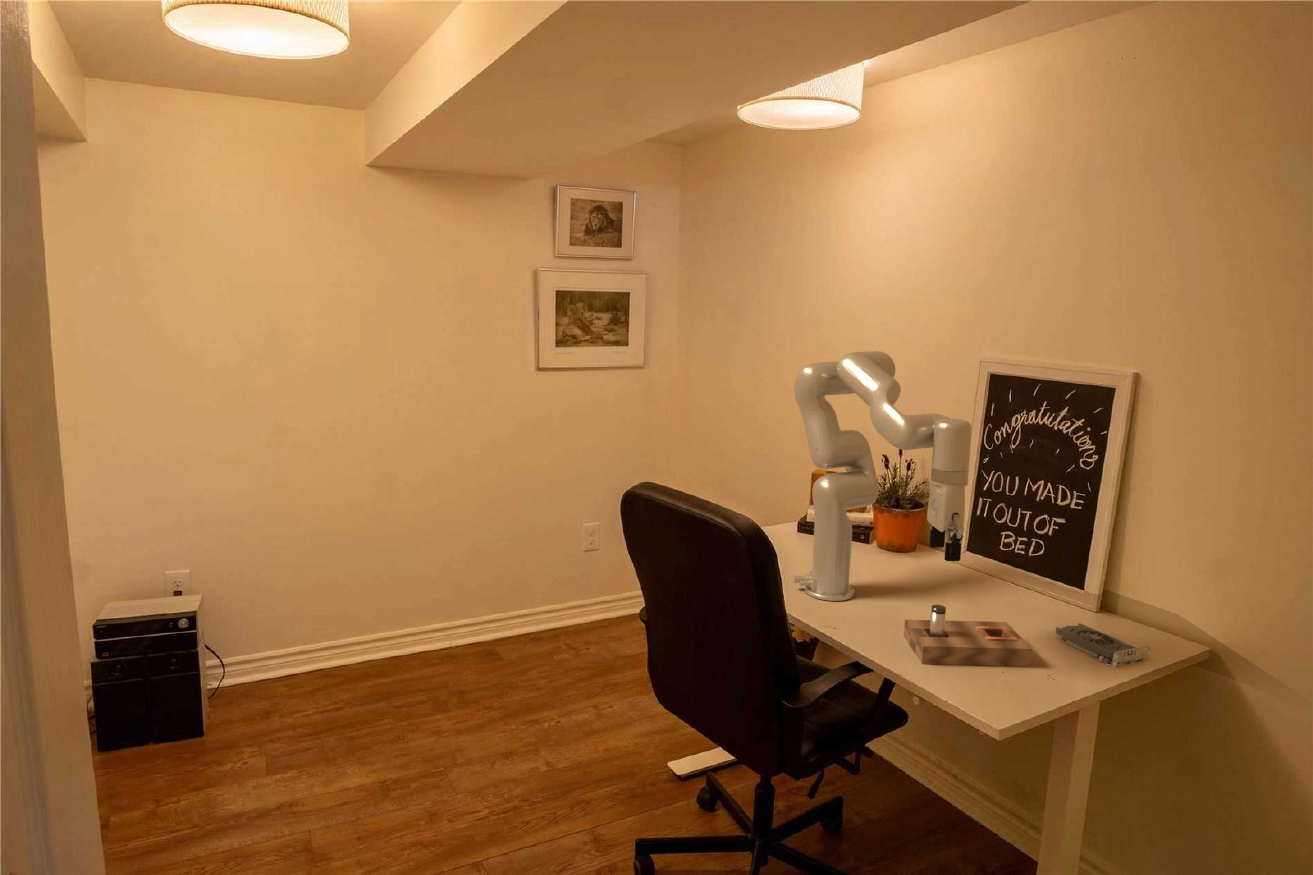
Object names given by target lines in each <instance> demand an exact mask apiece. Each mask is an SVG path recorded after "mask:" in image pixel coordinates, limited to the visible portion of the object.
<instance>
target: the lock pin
mask: <svg viewBox="0 0 1313 875" xmlns="http://www.w3.org/2000/svg"><path fill="white" fill-rule="evenodd" d="M930 608H931V610H930V611H931V612H930V619H929V620H930V631H929V637H944V626H945V621H946V615H947V614H946V612H947V607H946V606H944V605H941V604H933V605H931V607H930Z"/></svg>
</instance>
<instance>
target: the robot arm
mask: <svg viewBox="0 0 1313 875" xmlns="http://www.w3.org/2000/svg"><path fill="white" fill-rule="evenodd" d="M895 375H896V364H895V362H894V360H893V358H892V357H891V356H890V355H889V354H888V353H886V352H883V351H875V350H874V351H854V352H850V353H847V354H846V355H844V356H842V357H841V358H840V360H839V361H821V362H820V361H819V362H812V363H810V364H806V365H805V366H803V367H801V369H799V371H798V372H797V374H796V376H795V380H794V387H793V388H794V397H795V401H796V404H797V406H798V409H799V411H800V414H801V416H802V420H803V425H804V430H805V435H806V440H807V444H808V449H809V453H810V458H811V461H812V463H813V465H814V466H815V467H816V468H818V469H821V470H822V469H823V470H831V469H839V468H845V470H846V471H843V472H835V473H828V474H825V475H822V476H820V477H819V478H817V480H816V481H815V482H814V483H813V486H812V488H811V489H812V491H811V492H812V495H811V496H812V501H813V509H814V510H813V511H814V527H813V546H812V547H813V548H812V563H811V564H812V565H811V571H809V572H808V574H805V576H803V575H793V577H792V578H793V579H792V581H793V582H792V583H793V584H799V586H801V587H803V586H804V592H805V593H806V594H807V595H809V596H810V597H813V598H815V599H818V600H823V601H829V602H831V601H832V602H840V601H842V602H843V601H848V600H850V599H852V598H853V597H854V596H855V592H856V591H855V589H854V587H853V586H851V585H850V574H851V573H850V571H851V570H850V569H851V559H852V557H851V556H852V542H853V541H852V539H853V526H852V522H851V520H850V518H849V516H848V514H847V511H850V510H854V509H860V508H861V509H862V508H867V507H869V506H872V505H873V504H874V503H875V502H876V501H877V499H878V496H879V484H878V483H879V482H878V478H877V472H876V468H875V464H874V460H873V455H872V451H871V450H872V449H871V446H870V444H869V441H868V440H867V438H866V436H865V435H864V434H863V433H861V432H859V430H854V429H845V430H841V429H840V425H839V421H838V416H837V413H836V410H835V409H834V408H833V406H832V405H831V403H830V402H829V401H828V400H827V399H826V398H825V397H826V396H837V395H838V396H839V395H852V394H855V395H856V396H858V398H860V400H862V401H863V402H864V403H865V404H866V405H867V406H868V407H869V414H870V419H871V423H872V425H873V427H874V429H875V431H877V433H878V434H879V435H880V436H881V437H883V439H884V440H885V441H887V442H888V443H889V444H890V445H892V446H893V447H895V448H897V449H899V450H903V451H910V450H911V451H912V450H918V449H930V448H931V449H932V455H931V456H932V457H931V458H932V459H931V471H930V472H931V473H930V483H931V485H930V490H929V491H930V492H929V495H928V496H929V497H928V507H927V516H926V521H927V522H928V523H929V528H930V530H929V544H928V545H929V547H930V548H944V559H943V560H945V561H946V562H959V561H961V556H962V554H961V553H962V544H963V539H964V532H965V526H964V525H965V514H966V512H965V510H966V494H965V492H966V491H965V490H966V489H965V488H966V487H967V486H968V484H969V483H968V482H969V471H970V460H971V459H970V457H971V445H972V443H971V442H972V429H973V427H972V424H971V423H970V422H969V421H967V420H965V419H961V418H952V417H951V418H950V417H948V416H945V415H944V414H943V415H942V414H940V413H922V414H919V413H918V414H909V415H908V414H907V415H906V414H905V415H904V414H903V413H902V412H901V411H899V409H897V408H896V407H895V406H894V405H895V404H896V403H897V401H898V399H899V398H900V395H901V392H902V391H901V389H902V388H901V387H902V386H901V384H900V383H899V382H898V380H897V379H895ZM946 540H947V541H946Z"/></svg>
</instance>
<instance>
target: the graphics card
mask: <svg viewBox="0 0 1313 875" xmlns="http://www.w3.org/2000/svg"><path fill="white" fill-rule="evenodd" d="M1055 634H1056V635H1058V636H1060V637H1062V639H1063V640H1065V643H1068V644H1069V645H1071V646H1073V647H1075V648H1077V649H1079V650H1081V651H1083V652H1085V653H1088V654H1089V655H1088V657H1089V658H1092V659H1094V660H1096V659H1099V660H1098V662H1100V663H1102V664H1104V665H1106V664H1111V665H1112V666H1110V665H1107V666H1108V667H1112V668H1114V669H1117V666H1120V665H1125V666H1127V665H1128V664H1129V665H1131V663H1132V662H1133V663H1140V662H1143V661H1144V660H1146V659H1150V656H1151V654H1150V653H1149V652H1151V650H1152V648H1151V647H1152V646H1149V645H1144V646H1143V645H1142V646H1137V647H1136V646H1133V645H1131V644H1130V643H1126V642H1124V641H1122V640H1119V639H1117V638H1115V637H1113V636H1110V635H1108V634H1106V633H1105V632H1104V633H1103V632H1101V631H1099V630H1097V629H1094V628H1092V627H1090V626H1087V625H1085V624H1083V623H1077V625H1066V626H1063V627H1061V628H1060V627H1057V626H1056V627H1055ZM1091 655H1092V656H1091ZM1096 661H1097V660H1096ZM1119 664H1120V665H1119ZM1129 665H1128V666H1129Z"/></svg>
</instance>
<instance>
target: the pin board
mask: <svg viewBox="0 0 1313 875" xmlns="http://www.w3.org/2000/svg"><path fill="white" fill-rule="evenodd" d="M903 627H904V628H903V637H904V639H905V640H906V642H907V643H908V645H909V647H910V648H911V650H912V651H913V653H914V654H915V655H916V658H917V659H918V660H919V661H920V663H921V665H949V666H951V665H952V666H953V665H956V666H960V665H961V666H989V667H992V666H993V667H995V666H996V667H998V666H1002V667H1029V668H1031V666H1032V659H1033V658H1032V657H1033V648H1032V647H1031V646H1030V645H1029V643H1027V642H1026V640H1024V638H1022V636H1020V634H1019V633H1018V632H1017V631H1016V630H1015V629H1013V627H1012V626H1011V625H1009V623H1008V622H1007V621H985V620H984V621H982V620H980V621H979V620H978V621H977V620H976V621H975V620H945V626H944V637H929V631H930V619H904V626H903Z"/></svg>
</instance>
